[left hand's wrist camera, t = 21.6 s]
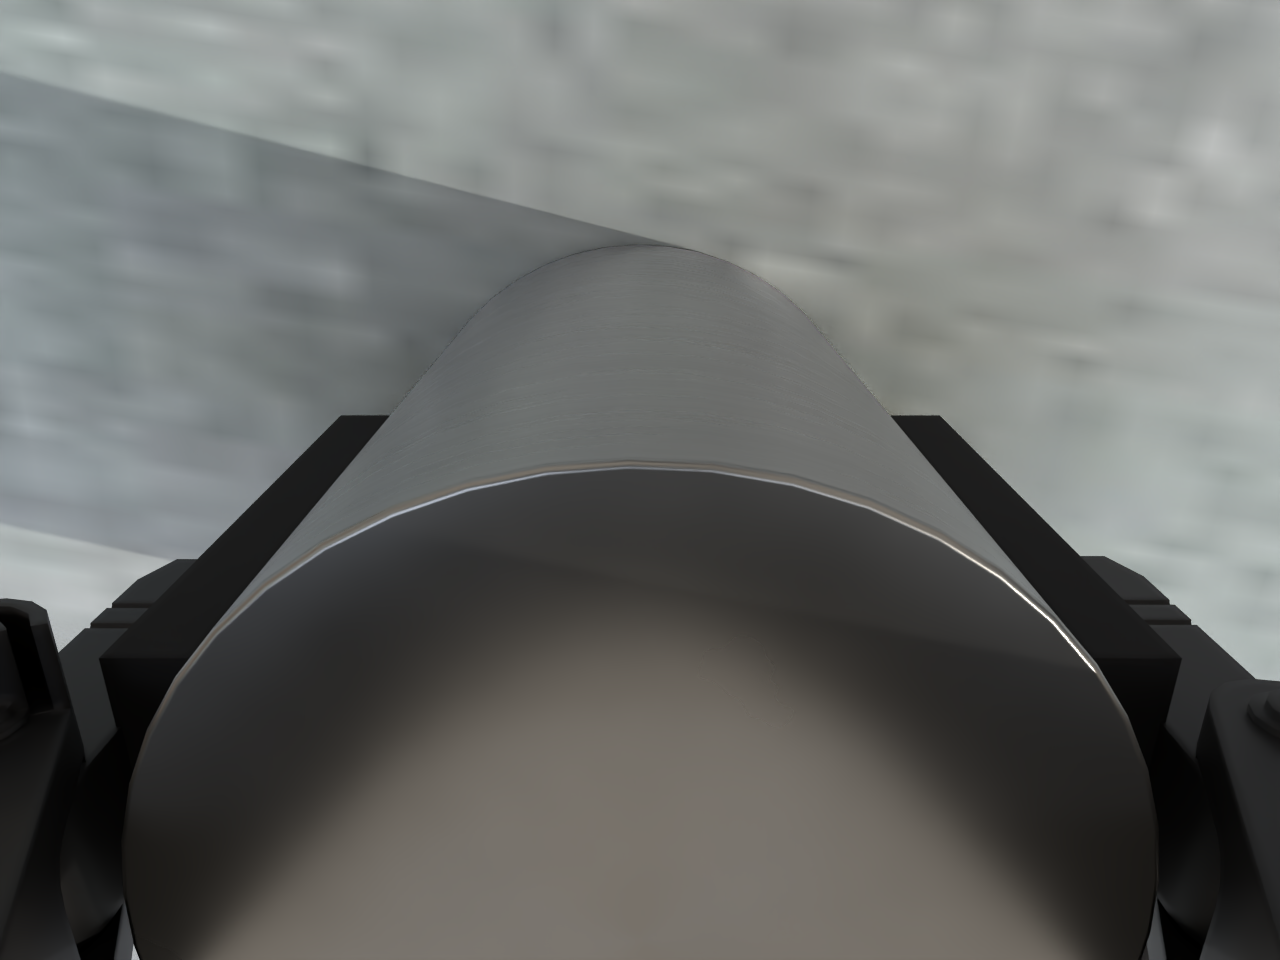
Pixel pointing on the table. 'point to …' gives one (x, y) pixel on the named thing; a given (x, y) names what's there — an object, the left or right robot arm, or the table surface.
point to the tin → (640, 676)
